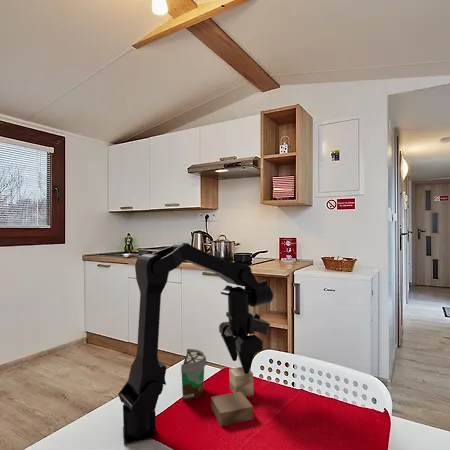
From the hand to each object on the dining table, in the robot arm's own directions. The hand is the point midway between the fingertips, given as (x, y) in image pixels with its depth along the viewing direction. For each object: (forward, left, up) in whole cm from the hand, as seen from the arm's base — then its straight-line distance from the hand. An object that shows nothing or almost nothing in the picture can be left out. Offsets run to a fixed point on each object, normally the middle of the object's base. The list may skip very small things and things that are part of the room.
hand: (240, 366), depth 95 cm
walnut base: (-6, -9, -7) cm, 13 cm away
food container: (-11, +5, -7) cm, 14 cm away
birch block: (0, 0, -7) cm, 7 cm away
